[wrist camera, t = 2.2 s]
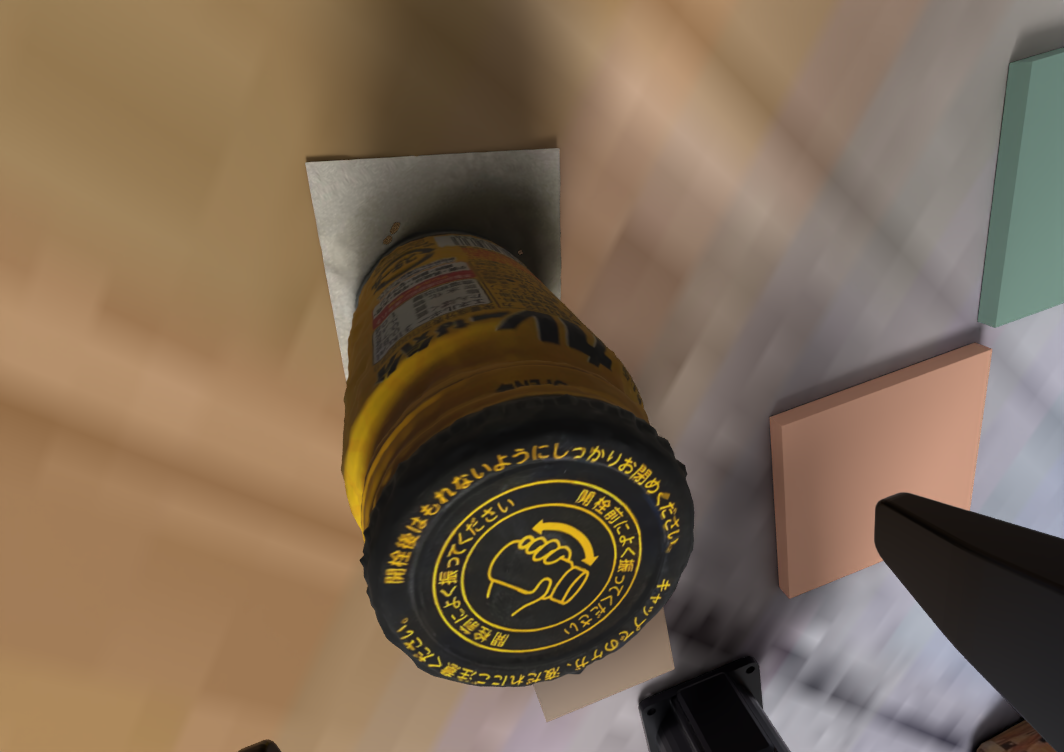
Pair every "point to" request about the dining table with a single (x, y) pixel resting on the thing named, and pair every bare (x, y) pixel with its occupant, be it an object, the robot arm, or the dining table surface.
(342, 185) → the condiment
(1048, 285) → the mat green
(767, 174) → the dining table surface
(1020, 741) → the basket
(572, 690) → the brown cube
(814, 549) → the mat terracotta
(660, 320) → the dining table surface
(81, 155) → the dining table surface
